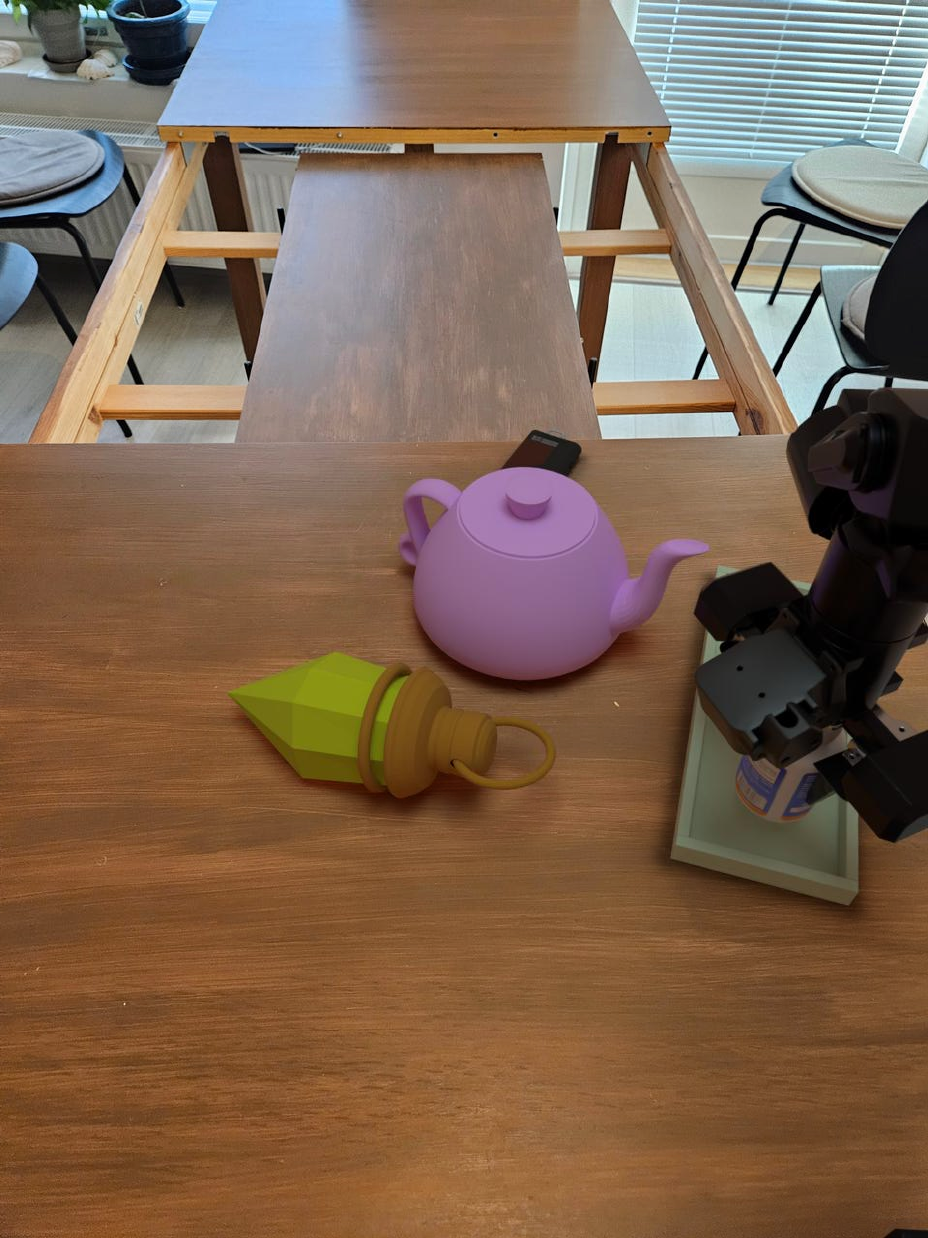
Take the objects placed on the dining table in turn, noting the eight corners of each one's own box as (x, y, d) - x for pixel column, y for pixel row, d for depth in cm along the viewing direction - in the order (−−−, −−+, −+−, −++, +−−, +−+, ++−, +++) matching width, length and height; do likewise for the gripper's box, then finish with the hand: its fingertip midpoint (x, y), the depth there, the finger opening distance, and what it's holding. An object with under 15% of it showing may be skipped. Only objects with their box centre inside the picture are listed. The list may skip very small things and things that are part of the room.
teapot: (349, 638, 73) (332, 512, 63) (445, 511, 84) (444, 385, 74) (640, 751, 66) (674, 628, 56) (705, 596, 77) (743, 469, 67)
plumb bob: (203, 779, 65) (534, 860, 57) (176, 678, 60) (536, 753, 52) (266, 704, 72) (569, 768, 64) (248, 609, 67) (573, 666, 59)
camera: (590, 443, 87) (542, 509, 81) (585, 464, 89) (537, 531, 83) (532, 419, 89) (480, 483, 82) (529, 441, 91) (478, 505, 85)
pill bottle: (814, 767, 62) (861, 680, 55) (813, 835, 59) (863, 751, 51) (735, 750, 63) (770, 662, 56) (729, 815, 60) (766, 730, 52)
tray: (848, 906, 58) (858, 892, 57) (670, 858, 60) (675, 844, 59) (850, 609, 76) (858, 593, 74) (712, 580, 78) (717, 564, 76)
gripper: (642, 533, 51) (607, 700, 62) (863, 796, 39) (771, 941, 51) (801, 485, 54) (740, 653, 65) (1050, 715, 42) (923, 870, 54)
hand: (785, 766), depth 59 cm, fingers closed on pill bottle, 5 cm apart
